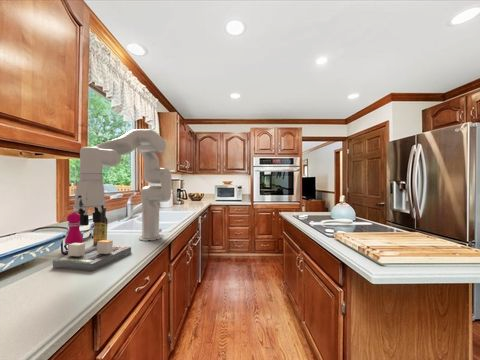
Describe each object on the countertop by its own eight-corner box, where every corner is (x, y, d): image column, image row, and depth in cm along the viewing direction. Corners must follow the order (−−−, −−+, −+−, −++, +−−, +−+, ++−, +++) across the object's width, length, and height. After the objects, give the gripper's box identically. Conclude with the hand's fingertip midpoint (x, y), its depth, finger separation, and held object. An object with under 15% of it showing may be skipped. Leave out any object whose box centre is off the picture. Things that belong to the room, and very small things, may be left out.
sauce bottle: (91, 245, 117) (91, 208, 117) (96, 242, 123) (96, 206, 123) (104, 245, 118) (105, 208, 118) (109, 241, 124) (109, 206, 125)
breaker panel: (98, 250, 108) (98, 244, 108) (131, 253, 105) (131, 246, 105) (52, 267, 87) (52, 259, 87) (92, 271, 83) (92, 263, 83)
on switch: (74, 253, 94) (74, 242, 94) (84, 254, 93) (85, 243, 93) (68, 255, 91) (68, 244, 91) (78, 256, 90) (78, 245, 90)
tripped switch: (102, 251, 97) (102, 239, 97) (112, 251, 96) (112, 240, 96) (96, 253, 94) (97, 241, 94) (107, 253, 93) (107, 242, 93)
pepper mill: (86, 247, 113) (87, 208, 113) (74, 252, 106) (75, 210, 106) (73, 247, 114) (74, 208, 114) (60, 251, 106) (61, 210, 107)
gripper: (100, 178, 97) (99, 219, 97) (62, 177, 80) (61, 227, 80) (115, 178, 96) (114, 220, 95) (80, 177, 79) (79, 228, 79)
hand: (90, 223), depth 88 cm, fingers open, 5 cm apart
